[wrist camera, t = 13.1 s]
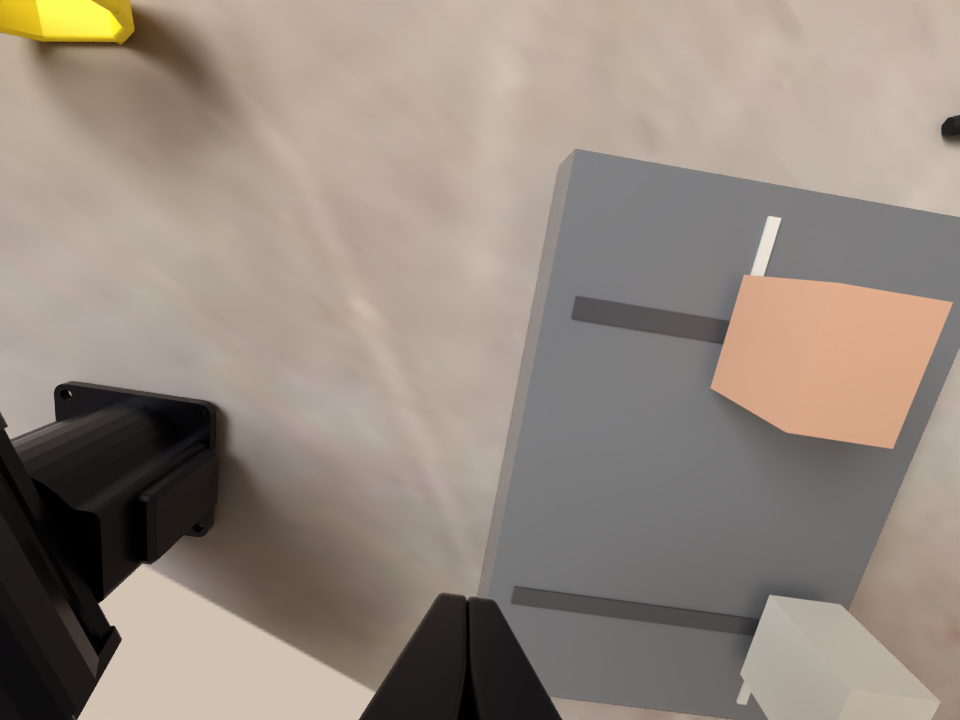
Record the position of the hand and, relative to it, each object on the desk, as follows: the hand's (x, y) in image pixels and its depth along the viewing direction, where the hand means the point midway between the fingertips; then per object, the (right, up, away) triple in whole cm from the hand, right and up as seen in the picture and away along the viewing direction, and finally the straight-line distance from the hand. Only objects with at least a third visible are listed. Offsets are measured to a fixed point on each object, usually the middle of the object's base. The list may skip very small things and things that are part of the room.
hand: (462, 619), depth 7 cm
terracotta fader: (+10, +5, +9) cm, 14 cm away
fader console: (+9, 0, +13) cm, 16 cm away
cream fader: (+13, -8, +12) cm, 19 cm away
